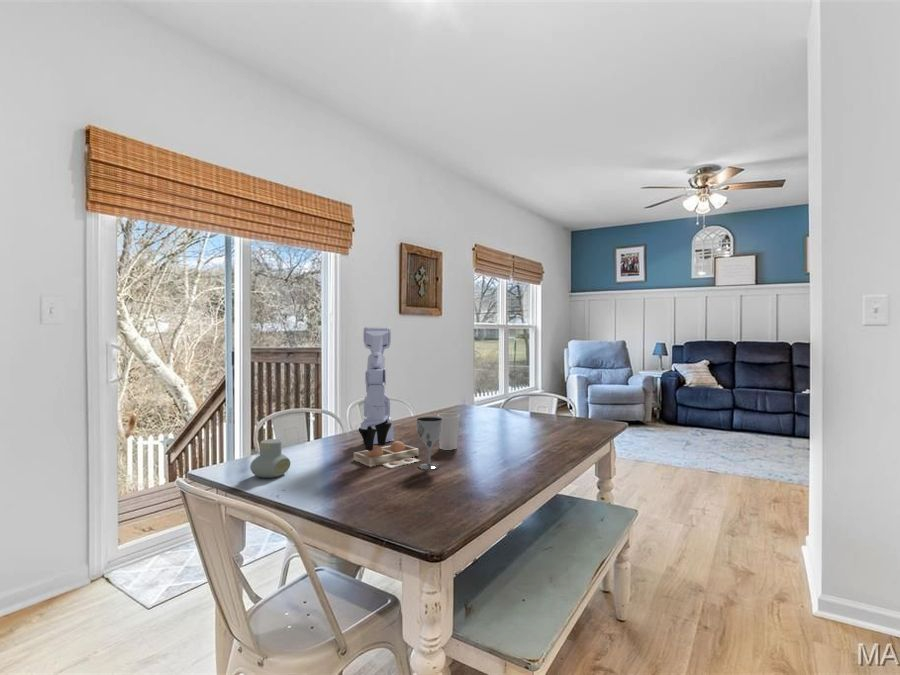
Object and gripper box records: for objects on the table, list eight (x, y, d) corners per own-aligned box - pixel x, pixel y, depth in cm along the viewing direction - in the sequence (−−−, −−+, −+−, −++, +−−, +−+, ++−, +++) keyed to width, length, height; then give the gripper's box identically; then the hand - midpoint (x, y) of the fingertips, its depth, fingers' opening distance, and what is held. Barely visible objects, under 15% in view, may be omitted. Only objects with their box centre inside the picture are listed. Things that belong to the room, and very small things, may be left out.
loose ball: (373, 457, 158) (373, 442, 158) (385, 459, 156) (386, 444, 156) (364, 461, 153) (364, 446, 153) (377, 463, 151) (377, 447, 151)
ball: (399, 453, 164) (399, 438, 164) (408, 456, 160) (408, 441, 160) (387, 455, 161) (387, 440, 161) (396, 458, 157) (396, 443, 157)
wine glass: (447, 466, 148) (447, 418, 148) (428, 472, 142) (429, 422, 142) (429, 462, 153) (429, 415, 153) (411, 467, 147) (411, 418, 147)
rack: (400, 450, 168) (400, 443, 168) (429, 459, 156) (429, 451, 156) (353, 460, 155) (353, 452, 155) (380, 470, 143) (381, 462, 143)
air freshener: (269, 482, 132) (269, 446, 132) (245, 479, 134) (245, 444, 134) (294, 471, 142) (294, 438, 142) (271, 469, 145) (271, 436, 144)
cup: (463, 447, 172) (463, 414, 172) (451, 452, 165) (451, 418, 165) (445, 444, 176) (445, 412, 176) (432, 449, 170) (433, 415, 169)
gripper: (376, 401, 162) (376, 441, 163) (352, 408, 149) (352, 451, 149) (394, 403, 160) (394, 443, 160) (371, 409, 146) (371, 453, 146)
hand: (375, 447), depth 154 cm, fingers open, 7 cm apart
